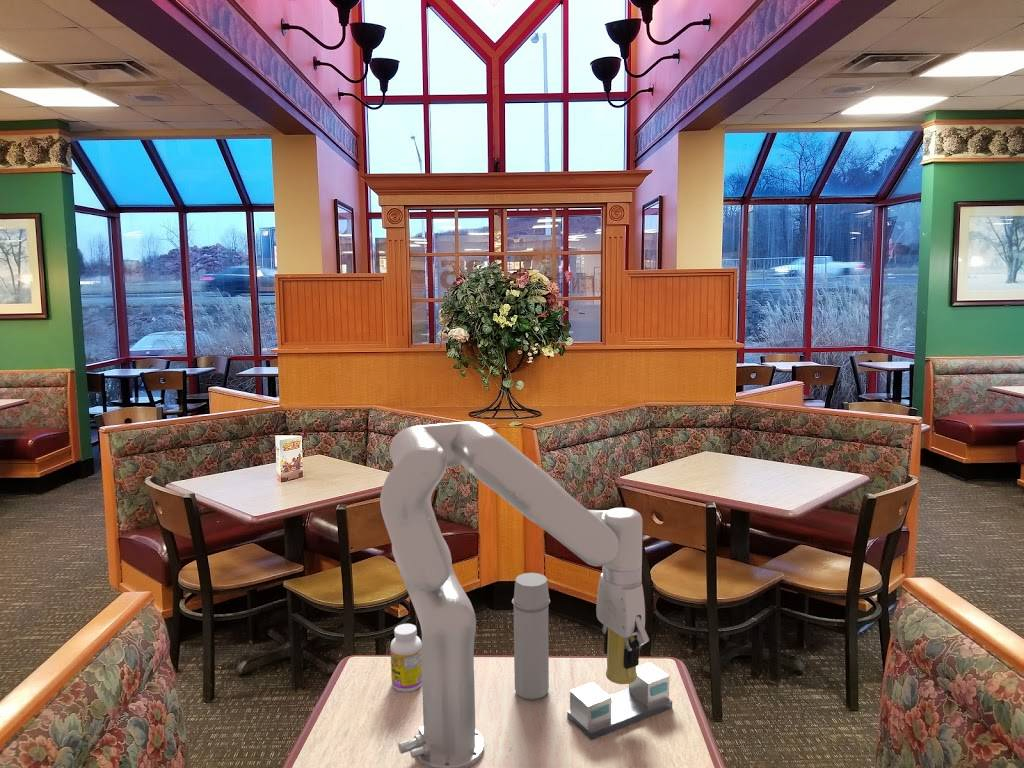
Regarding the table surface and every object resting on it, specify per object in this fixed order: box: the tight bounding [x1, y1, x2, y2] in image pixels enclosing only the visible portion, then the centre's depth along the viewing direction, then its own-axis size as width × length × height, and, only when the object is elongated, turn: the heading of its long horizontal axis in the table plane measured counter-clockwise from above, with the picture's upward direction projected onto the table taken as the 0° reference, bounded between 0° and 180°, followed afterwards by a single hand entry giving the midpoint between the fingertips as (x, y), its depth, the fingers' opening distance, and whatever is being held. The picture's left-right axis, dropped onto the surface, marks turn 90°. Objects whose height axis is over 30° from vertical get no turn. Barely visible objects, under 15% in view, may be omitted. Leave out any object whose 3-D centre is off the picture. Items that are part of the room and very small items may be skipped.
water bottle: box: [511, 572, 551, 700], centre depth 152 cm, size 9×8×25 cm
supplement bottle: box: [389, 623, 422, 693], centre depth 156 cm, size 7×7×13 cm
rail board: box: [566, 661, 673, 741], centre depth 145 cm, size 20×8×6 cm, turn 119°
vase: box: [605, 628, 637, 685], centre depth 143 cm, size 6×6×14 cm
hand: (621, 658), depth 144 cm, fingers closed on vase, 5 cm apart
